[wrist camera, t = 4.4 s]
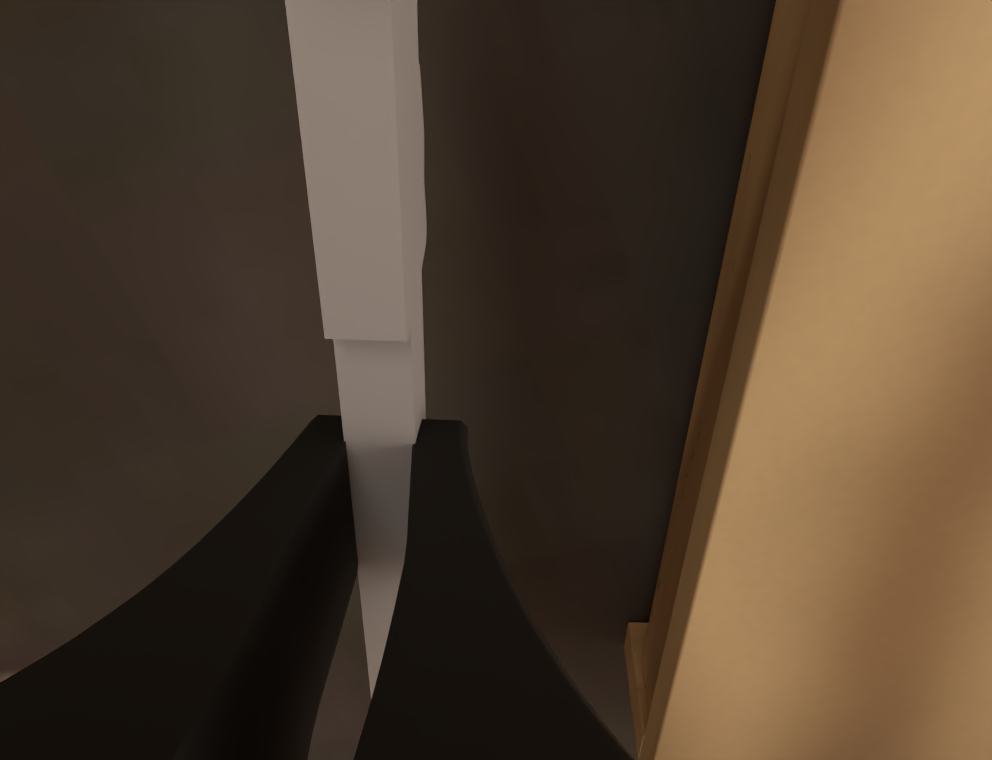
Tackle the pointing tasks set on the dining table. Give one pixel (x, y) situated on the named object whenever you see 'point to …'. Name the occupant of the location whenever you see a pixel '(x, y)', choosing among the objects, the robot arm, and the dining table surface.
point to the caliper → (368, 259)
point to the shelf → (841, 414)
